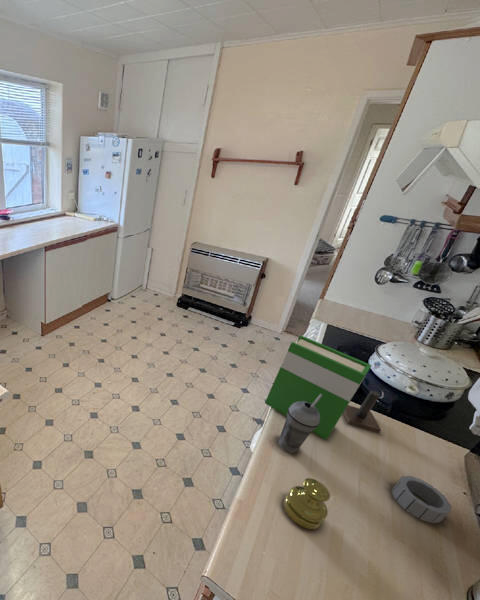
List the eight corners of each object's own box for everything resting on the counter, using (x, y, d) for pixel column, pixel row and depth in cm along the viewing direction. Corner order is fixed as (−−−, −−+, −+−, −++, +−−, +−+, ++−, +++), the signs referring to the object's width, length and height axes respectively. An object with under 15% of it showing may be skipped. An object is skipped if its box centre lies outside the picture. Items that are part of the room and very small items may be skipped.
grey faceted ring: (429, 495, 80) (438, 484, 78) (449, 529, 73) (460, 519, 71) (386, 480, 83) (394, 470, 81) (401, 512, 75) (410, 502, 74)
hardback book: (264, 403, 105) (291, 342, 94) (274, 393, 110) (300, 335, 99) (326, 439, 93) (364, 375, 82) (334, 427, 98) (371, 365, 87)
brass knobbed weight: (275, 503, 75) (291, 476, 71) (296, 492, 78) (312, 465, 74) (306, 536, 69) (325, 508, 65) (327, 522, 72) (347, 495, 68)
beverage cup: (275, 430, 95) (301, 378, 86) (304, 445, 91) (334, 391, 82) (270, 446, 90) (297, 392, 81) (300, 462, 86) (331, 407, 77)
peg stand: (368, 415, 104) (385, 389, 99) (378, 433, 97) (397, 406, 92) (339, 406, 106) (355, 381, 101) (347, 424, 99) (363, 397, 94)
